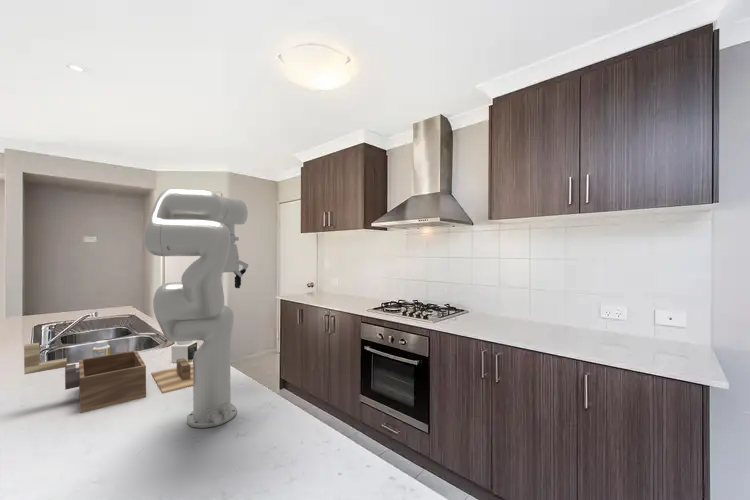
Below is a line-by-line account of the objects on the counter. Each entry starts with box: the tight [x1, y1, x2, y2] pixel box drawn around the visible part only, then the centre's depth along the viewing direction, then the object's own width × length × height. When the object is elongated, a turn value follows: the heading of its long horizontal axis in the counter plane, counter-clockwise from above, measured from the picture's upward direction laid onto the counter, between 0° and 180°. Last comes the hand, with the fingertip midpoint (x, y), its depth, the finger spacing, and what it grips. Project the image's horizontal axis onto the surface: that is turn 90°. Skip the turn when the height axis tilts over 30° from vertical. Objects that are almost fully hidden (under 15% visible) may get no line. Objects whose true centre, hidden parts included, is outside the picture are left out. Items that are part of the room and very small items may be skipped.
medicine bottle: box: [171, 340, 198, 364], centre depth 146 cm, size 7×7×12 cm
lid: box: [150, 358, 193, 394], centre depth 127 cm, size 23×17×6 cm
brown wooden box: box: [64, 349, 147, 414], centre depth 112 cm, size 22×19×11 cm
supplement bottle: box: [92, 339, 111, 358], centre depth 138 cm, size 6×6×10 cm
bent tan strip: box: [23, 342, 68, 375], centre depth 102 cm, size 3×9×8 cm, turn 131°
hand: (223, 289), depth 119 cm, fingers open, 9 cm apart
